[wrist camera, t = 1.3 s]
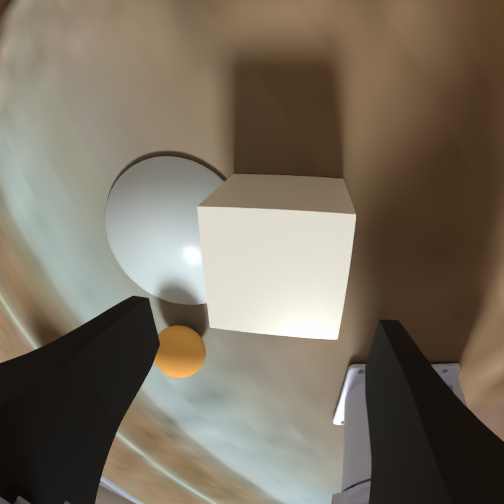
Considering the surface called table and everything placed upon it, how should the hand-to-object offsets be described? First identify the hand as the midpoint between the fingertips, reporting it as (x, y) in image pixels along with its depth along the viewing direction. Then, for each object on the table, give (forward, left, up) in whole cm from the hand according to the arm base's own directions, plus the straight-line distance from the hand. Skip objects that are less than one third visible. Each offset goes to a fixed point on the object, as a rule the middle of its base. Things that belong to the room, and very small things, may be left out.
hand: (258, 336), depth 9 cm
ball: (+7, +9, -7) cm, 13 cm away
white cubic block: (0, 0, -9) cm, 9 cm away
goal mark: (+7, +1, -9) cm, 11 cm away
